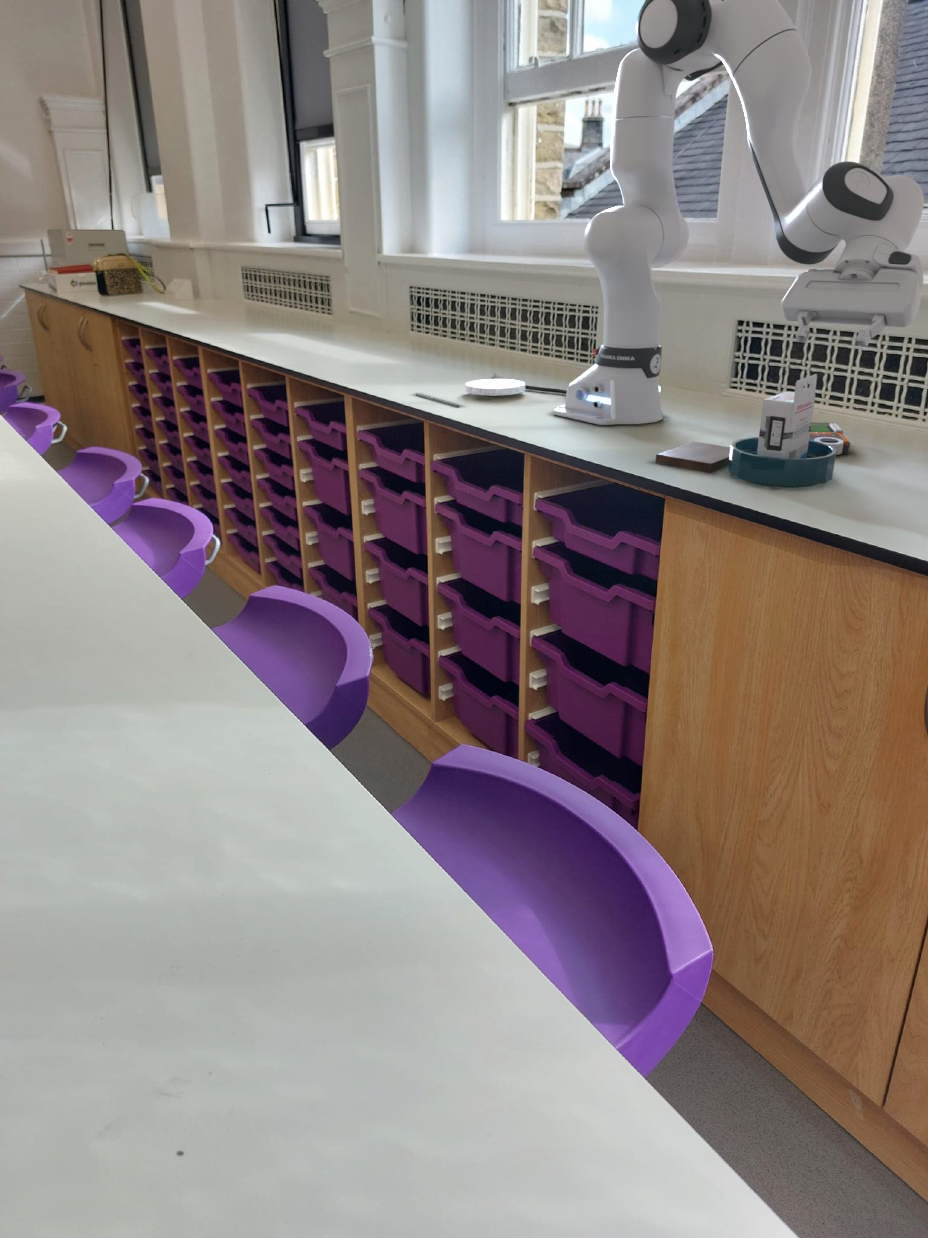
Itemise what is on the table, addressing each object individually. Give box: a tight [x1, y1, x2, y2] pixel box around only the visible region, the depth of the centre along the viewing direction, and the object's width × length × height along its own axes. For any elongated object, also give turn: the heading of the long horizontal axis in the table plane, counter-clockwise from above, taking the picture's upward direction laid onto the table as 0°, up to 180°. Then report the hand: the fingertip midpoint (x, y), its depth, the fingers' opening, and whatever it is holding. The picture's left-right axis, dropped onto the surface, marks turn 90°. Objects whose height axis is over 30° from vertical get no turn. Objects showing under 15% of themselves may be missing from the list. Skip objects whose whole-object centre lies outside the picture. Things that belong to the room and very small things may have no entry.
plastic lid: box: [464, 378, 526, 397], centre depth 204 cm, size 14×14×2 cm
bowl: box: [727, 436, 837, 489], centre depth 135 cm, size 15×15×4 cm
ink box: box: [757, 373, 818, 459], centre depth 132 cm, size 8×5×15 cm, turn 140°
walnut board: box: [655, 441, 731, 474], centre depth 145 cm, size 10×12×2 cm
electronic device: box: [809, 421, 851, 456], centre depth 152 cm, size 7×3×15 cm
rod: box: [415, 392, 461, 408], centre depth 199 cm, size 1×19×1 cm, turn 33°
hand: (830, 341), depth 136 cm, fingers open, 8 cm apart
